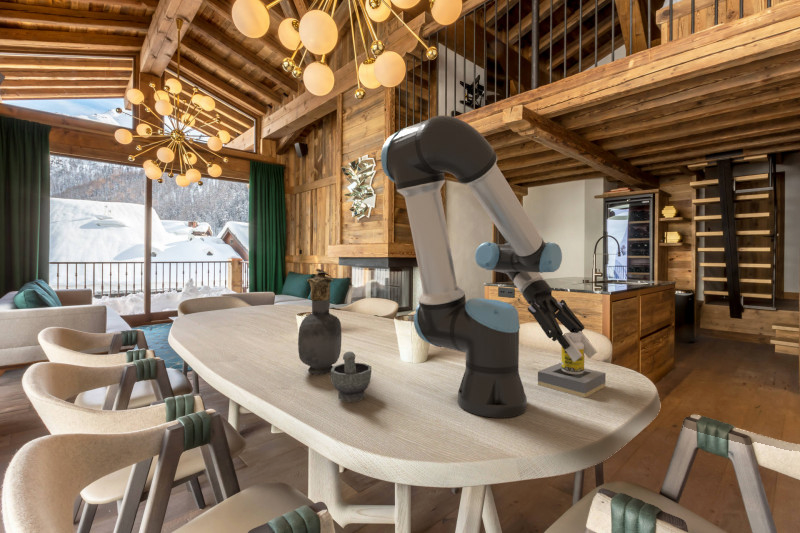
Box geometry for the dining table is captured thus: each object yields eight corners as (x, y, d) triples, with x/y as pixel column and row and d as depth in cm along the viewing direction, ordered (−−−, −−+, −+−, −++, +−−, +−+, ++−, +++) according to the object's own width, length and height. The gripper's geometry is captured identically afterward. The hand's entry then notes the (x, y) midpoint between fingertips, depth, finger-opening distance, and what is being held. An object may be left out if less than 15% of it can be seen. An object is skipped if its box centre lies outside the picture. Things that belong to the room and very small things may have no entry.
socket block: (584, 397, 89) (584, 383, 89) (537, 384, 98) (537, 371, 98) (605, 386, 97) (605, 372, 97) (560, 375, 106) (560, 362, 106)
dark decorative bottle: (294, 379, 103) (293, 269, 102) (311, 360, 122) (311, 267, 121) (334, 379, 102) (334, 269, 102) (345, 360, 122) (344, 267, 121)
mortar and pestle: (334, 389, 95) (334, 342, 94) (372, 389, 95) (371, 342, 95) (327, 407, 83) (327, 354, 83) (369, 407, 84) (369, 353, 83)
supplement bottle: (562, 373, 96) (561, 336, 96) (561, 367, 101) (560, 331, 101) (585, 375, 94) (585, 337, 94) (583, 368, 99) (583, 332, 99)
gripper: (546, 293, 115) (597, 359, 101) (502, 297, 106) (552, 370, 92) (561, 277, 110) (617, 344, 97) (517, 279, 101) (572, 354, 87)
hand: (585, 356), depth 94 cm, fingers closed on supplement bottle, 5 cm apart
